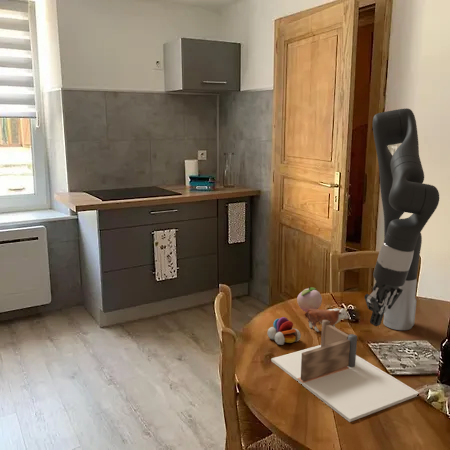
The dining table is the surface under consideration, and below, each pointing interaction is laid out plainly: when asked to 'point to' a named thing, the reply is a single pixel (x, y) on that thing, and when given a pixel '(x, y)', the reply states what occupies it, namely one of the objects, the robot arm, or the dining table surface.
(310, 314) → the bull figurine
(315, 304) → the decorative fruit
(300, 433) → the dining table surface
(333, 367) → the hinged fence panel
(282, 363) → the board
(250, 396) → the dining table surface
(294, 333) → the rainbow toy vehicle
